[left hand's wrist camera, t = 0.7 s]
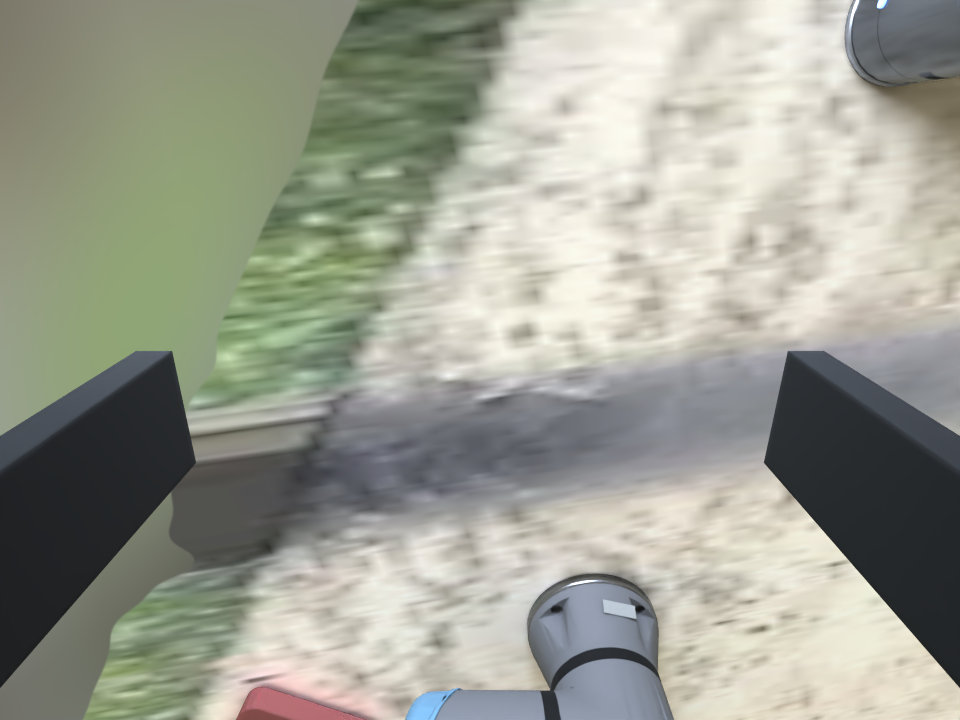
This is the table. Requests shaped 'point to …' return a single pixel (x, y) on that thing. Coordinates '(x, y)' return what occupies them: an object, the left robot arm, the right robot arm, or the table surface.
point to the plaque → (285, 708)
